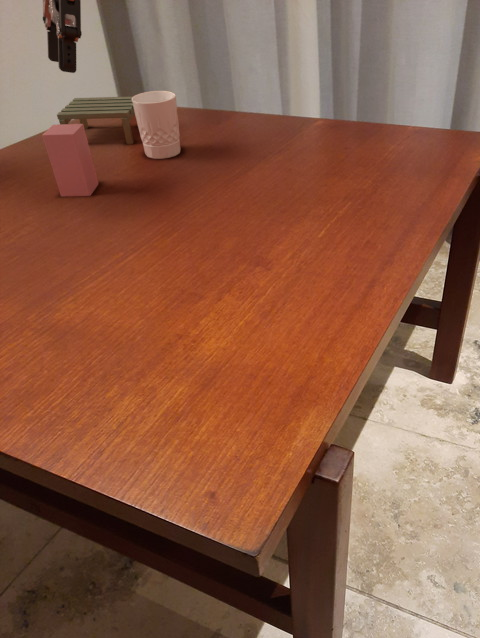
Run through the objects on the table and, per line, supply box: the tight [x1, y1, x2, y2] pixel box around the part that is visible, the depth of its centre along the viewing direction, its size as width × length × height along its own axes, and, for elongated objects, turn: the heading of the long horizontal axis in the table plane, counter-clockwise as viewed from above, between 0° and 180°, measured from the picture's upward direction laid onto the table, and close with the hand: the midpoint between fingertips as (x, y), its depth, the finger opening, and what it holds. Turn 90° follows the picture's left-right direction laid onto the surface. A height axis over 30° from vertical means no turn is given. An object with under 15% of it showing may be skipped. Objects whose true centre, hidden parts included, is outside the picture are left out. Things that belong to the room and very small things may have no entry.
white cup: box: [132, 90, 182, 160], centre depth 103 cm, size 8×8×10 cm
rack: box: [56, 95, 135, 145], centre depth 113 cm, size 14×12×6 cm
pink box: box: [41, 123, 99, 197], centre depth 91 cm, size 5×5×10 cm
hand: (61, 66), depth 79 cm, fingers open, 8 cm apart
